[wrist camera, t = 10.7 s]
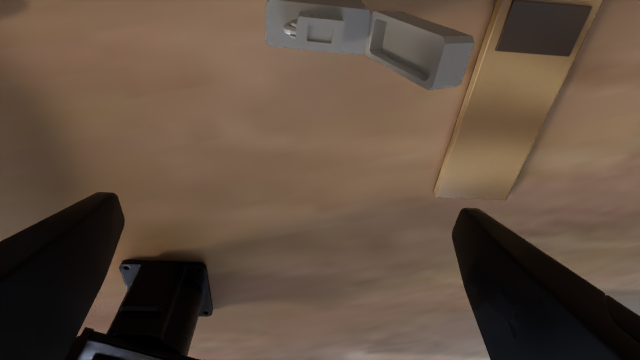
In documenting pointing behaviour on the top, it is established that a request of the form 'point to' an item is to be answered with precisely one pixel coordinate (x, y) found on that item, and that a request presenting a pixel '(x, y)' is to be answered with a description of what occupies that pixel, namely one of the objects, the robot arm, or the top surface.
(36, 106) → the top surface
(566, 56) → the strip
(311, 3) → the lighter
